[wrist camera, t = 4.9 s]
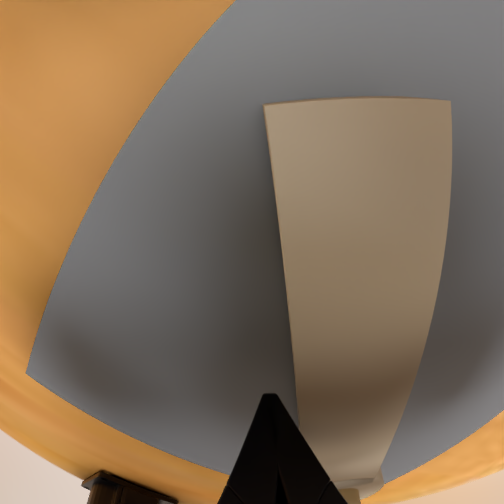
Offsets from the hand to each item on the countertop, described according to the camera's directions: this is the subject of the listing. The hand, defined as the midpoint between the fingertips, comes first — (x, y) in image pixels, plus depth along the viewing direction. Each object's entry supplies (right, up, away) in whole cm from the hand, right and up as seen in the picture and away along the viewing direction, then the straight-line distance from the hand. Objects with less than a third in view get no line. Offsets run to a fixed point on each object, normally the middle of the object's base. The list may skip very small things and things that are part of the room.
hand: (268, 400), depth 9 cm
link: (+2, 0, +1) cm, 3 cm away
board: (+5, +1, +1) cm, 6 cm away
